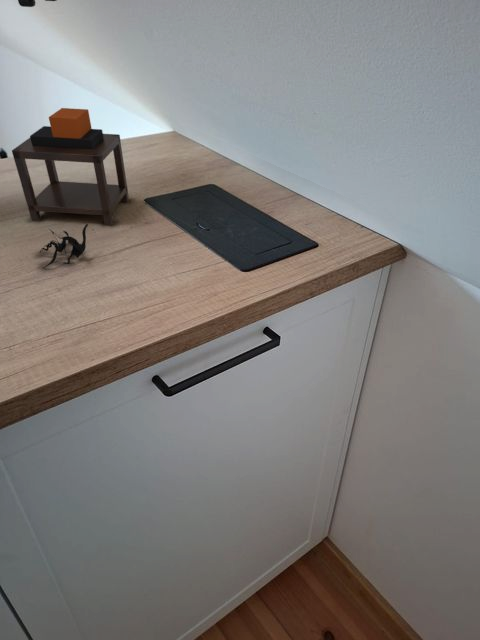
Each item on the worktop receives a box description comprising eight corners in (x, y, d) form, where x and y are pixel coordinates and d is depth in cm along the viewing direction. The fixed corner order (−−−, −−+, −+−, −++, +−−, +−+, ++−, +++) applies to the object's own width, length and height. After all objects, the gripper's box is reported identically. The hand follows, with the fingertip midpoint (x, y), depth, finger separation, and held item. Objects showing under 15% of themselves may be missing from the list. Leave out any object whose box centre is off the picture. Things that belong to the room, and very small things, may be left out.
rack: (31, 221, 85) (11, 150, 77) (56, 196, 93) (40, 129, 85) (111, 226, 84) (99, 155, 76) (129, 200, 93) (119, 134, 85)
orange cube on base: (32, 145, 79) (24, 115, 76) (45, 135, 83) (38, 106, 80) (93, 149, 79) (87, 119, 76) (103, 138, 83) (99, 110, 80)
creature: (32, 274, 74) (78, 271, 72) (15, 242, 70) (62, 237, 68) (58, 250, 80) (101, 246, 78) (43, 219, 76) (87, 214, 74)
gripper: (5, -142, 70) (35, -2, 80) (-50, -157, 59) (-7, 7, 69) (57, -139, 70) (80, 0, 80) (11, -154, 59) (45, 10, 69)
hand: (39, 3), depth 75 cm, fingers open, 8 cm apart
